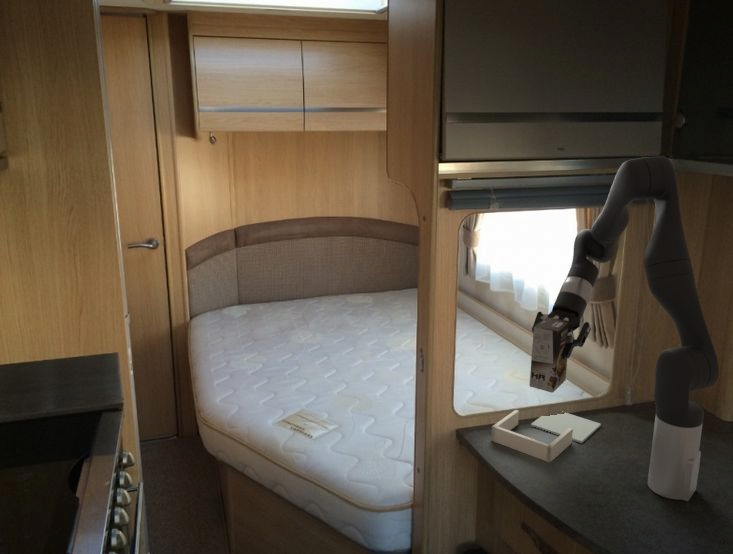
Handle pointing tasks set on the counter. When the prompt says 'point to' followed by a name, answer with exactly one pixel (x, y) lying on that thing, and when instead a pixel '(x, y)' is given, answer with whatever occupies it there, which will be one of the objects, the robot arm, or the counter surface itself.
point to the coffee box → (549, 354)
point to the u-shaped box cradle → (528, 439)
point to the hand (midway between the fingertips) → (549, 354)
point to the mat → (567, 425)
